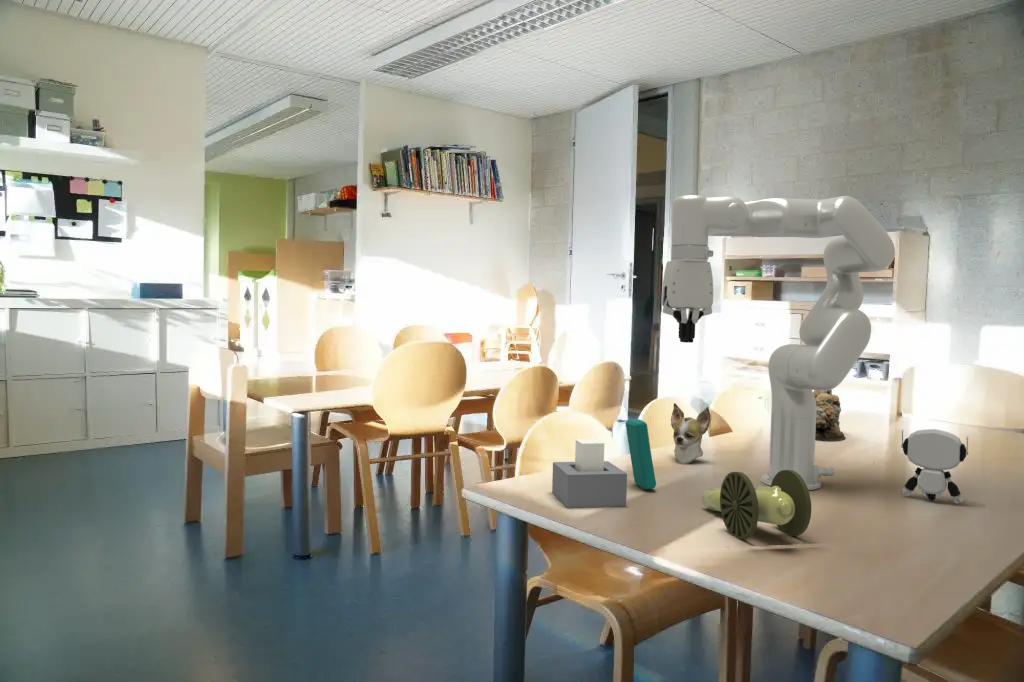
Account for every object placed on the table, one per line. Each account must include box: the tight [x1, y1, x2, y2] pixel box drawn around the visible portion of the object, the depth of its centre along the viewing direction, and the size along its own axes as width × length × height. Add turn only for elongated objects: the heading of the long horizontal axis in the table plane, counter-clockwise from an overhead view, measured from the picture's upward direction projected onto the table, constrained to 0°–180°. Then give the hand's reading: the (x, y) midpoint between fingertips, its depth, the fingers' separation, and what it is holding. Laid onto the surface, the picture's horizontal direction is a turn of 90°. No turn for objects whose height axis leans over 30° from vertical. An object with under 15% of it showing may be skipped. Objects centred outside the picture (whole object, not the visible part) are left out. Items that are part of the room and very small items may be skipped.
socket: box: [551, 460, 628, 509], centre depth 153 cm, size 12×12×6 cm
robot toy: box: [900, 428, 969, 504], centre depth 159 cm, size 12×4×15 cm, turn 54°
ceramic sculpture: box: [670, 402, 711, 465], centre depth 190 cm, size 11×9×15 cm
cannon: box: [701, 470, 812, 540], centre depth 136 cm, size 25×12×11 cm, turn 14°
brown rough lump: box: [813, 389, 846, 443], centre depth 229 cm, size 18×12×17 cm, turn 147°
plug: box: [574, 438, 605, 472], centre depth 153 cm, size 5×5×10 cm
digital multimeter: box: [625, 418, 657, 490], centre depth 163 cm, size 7×15×3 cm
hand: (686, 342), depth 160 cm, fingers closed
